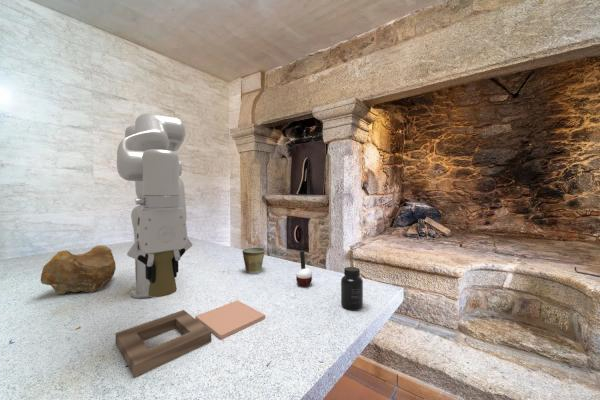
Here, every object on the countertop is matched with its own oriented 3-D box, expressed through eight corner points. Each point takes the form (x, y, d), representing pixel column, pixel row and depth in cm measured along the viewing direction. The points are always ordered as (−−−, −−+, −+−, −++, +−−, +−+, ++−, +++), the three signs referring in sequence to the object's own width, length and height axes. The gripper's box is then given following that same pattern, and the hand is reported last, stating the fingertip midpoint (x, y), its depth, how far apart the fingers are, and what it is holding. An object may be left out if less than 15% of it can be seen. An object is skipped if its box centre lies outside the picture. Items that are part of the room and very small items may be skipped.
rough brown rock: (74, 306, 80) (78, 260, 80) (31, 298, 82) (34, 253, 82) (132, 282, 103) (135, 246, 103) (97, 276, 105) (100, 241, 105)
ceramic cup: (263, 275, 108) (263, 252, 107) (240, 275, 108) (239, 252, 108) (267, 266, 121) (267, 245, 120) (246, 266, 121) (246, 245, 121)
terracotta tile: (195, 319, 71) (195, 316, 71) (237, 303, 81) (237, 300, 81) (221, 339, 61) (220, 335, 61) (265, 318, 72) (265, 315, 72)
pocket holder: (115, 343, 60) (115, 333, 60) (183, 318, 71) (183, 309, 71) (134, 377, 49) (134, 365, 49) (211, 341, 61) (211, 331, 61)
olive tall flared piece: (164, 298, 57) (163, 250, 56) (141, 295, 58) (141, 248, 57) (182, 287, 63) (181, 244, 62) (161, 285, 64) (160, 243, 63)
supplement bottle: (363, 303, 82) (364, 266, 82) (361, 312, 76) (362, 273, 75) (342, 299, 84) (343, 264, 84) (339, 308, 78) (339, 271, 77)
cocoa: (309, 290, 93) (311, 259, 92) (293, 288, 94) (294, 257, 93) (313, 280, 102) (314, 252, 101) (298, 278, 103) (299, 250, 102)
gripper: (123, 205, 50) (125, 294, 51) (203, 202, 63) (203, 274, 64) (114, 203, 55) (116, 284, 56) (190, 200, 68) (190, 267, 69)
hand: (162, 277), depth 60 cm, fingers closed on olive tall flared piece, 4 cm apart
